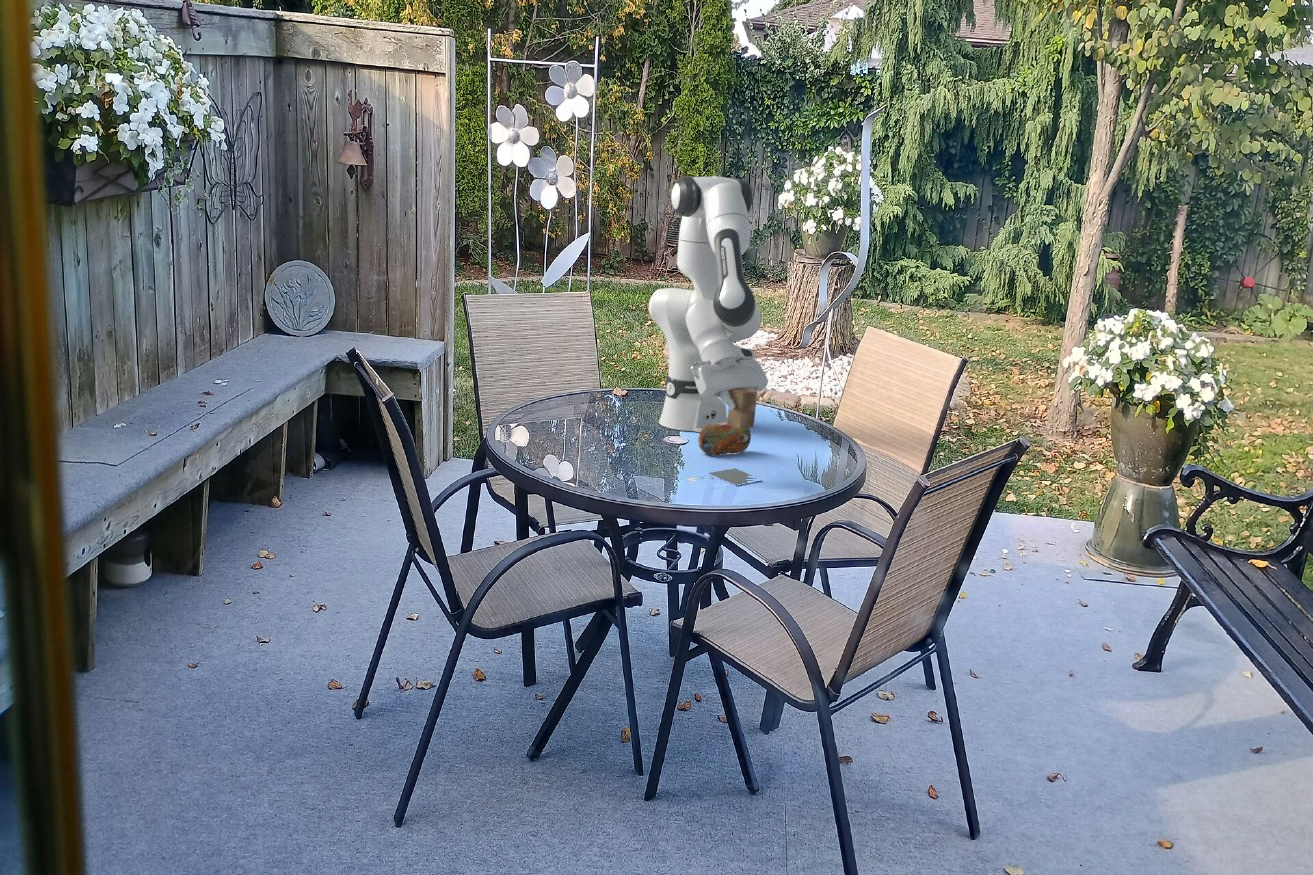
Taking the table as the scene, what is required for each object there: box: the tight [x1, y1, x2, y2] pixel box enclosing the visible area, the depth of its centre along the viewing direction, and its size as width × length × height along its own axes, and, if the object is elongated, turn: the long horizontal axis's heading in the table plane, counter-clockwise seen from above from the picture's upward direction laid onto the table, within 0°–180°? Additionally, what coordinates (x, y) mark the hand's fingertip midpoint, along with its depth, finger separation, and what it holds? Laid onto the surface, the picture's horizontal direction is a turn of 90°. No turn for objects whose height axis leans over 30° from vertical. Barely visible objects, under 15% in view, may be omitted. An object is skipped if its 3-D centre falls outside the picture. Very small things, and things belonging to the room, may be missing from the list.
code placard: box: [686, 476, 701, 482], centre depth 269 cm, size 7×9×1 cm
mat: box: [708, 468, 756, 485], centre depth 274 cm, size 9×10×1 cm
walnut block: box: [727, 388, 758, 429], centre depth 270 cm, size 5×5×9 cm
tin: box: [698, 423, 752, 456], centre depth 294 cm, size 15×3×8 cm, turn 117°
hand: (743, 407), depth 269 cm, fingers closed on walnut block, 5 cm apart
